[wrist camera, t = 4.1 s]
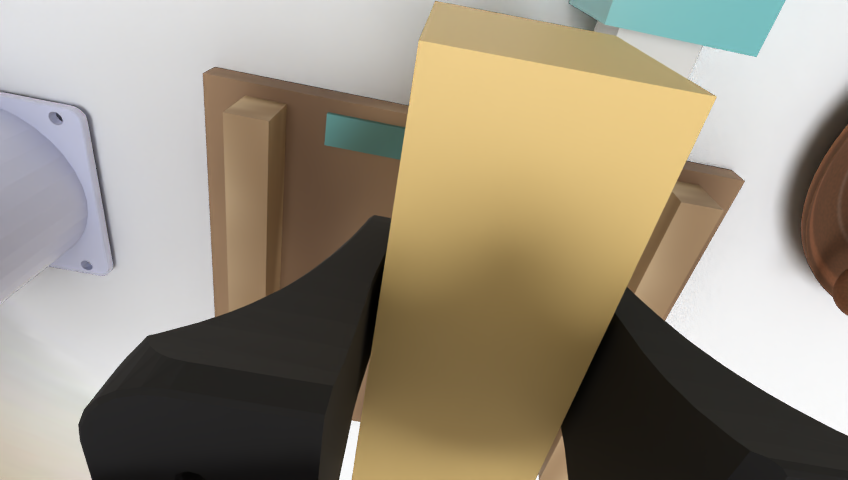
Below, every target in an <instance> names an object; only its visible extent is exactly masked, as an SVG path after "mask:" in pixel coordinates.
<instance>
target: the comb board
mask: <svg viewBox="0 0 848 480" xmlns="http://www.w3.org/2000/svg"><path fill="white" fill-rule="evenodd" d="M203 86H204V106H205V126H206V146H207V166H208V186H209V206H210V226H211V246H212V266H213V286H214V306H215V317H217V316H220V315H223V314H226V313H228V312H231V311H234V310H236V309H239V308H241V307H244V306H246V305H249V304H251V303H253V302H255V301H257V300H259V299H262V298H264V297H266V296H268V295H270V294H272V293H274V292H276V291H278V290H280V289H282V288H284V287H286V286H287V285H289V284H291V283H292V282H294V281H296V280H297V279H299V278H300V277H302V276H303V275H305V274H306V273H308V272H309V271H311V270H312V269H314V268H315V267H316V266H318V265H319V264H320V263H321V262H323V261H324V260H325V259H327V258H328V257H329V256H331V255H332V254H333V253H334V252H335V251H337V250H338V249H339V248H340V247H341V246H342V245H343V244H344V243H345V242H347V241H348V240H349V239H350V238H351V237H352V236H353V235H354V234H355V233H356V232H357V231H358V230H359V229H360V228H361V227H362V226H363V225H364V224H365V222H366V221H367V220H368V219H369V218H370V217H372V216H373V215H377V216H383V217H388V218H392V212H393V206H394V199H395V193H396V186H397V180H398V173H399V167H400V160H401V153H402V147H403V140H404V134H405V127H406V121H407V114H408V108H409V106H407V105H402V104H397V103H392V102H387V101H382V100H377V99H372V98H367V97H362V96H357V95H352V94H347V93H342V92H337V91H332V90H327V89H322V88H317V87H312V86H307V85H302V84H297V83H292V82H287V81H282V80H277V79H272V78H267V77H262V76H257V75H252V74H247V73H242V72H237V71H232V70H227V69H222V68H217V67H214V68H212V69H210V70H208V71H206V72H204V73H203ZM744 182H745V181H744V180H743V179H742V178H741V177H739V176H738V175H737V174H736V173H735V172H733V171H732V170H728V169H723V168H718V167H713V166H708V165H703V164H698V163H693V162H688V161H686V163H685V165H684V167H683V169H682V171H681V173H680V175H679V177H678V180H677V182H676V184H675V186H674V188H673V190H672V192H671V194H670V196H669V199H668V201H667V203H666V205H665V207H664V209H663V211H662V213H661V215H660V218H659V220H658V222H657V224H656V226H655V228H654V230H653V232H652V234H651V237H650V239H649V241H648V243H647V245H646V247H645V249H644V251H643V253H642V256H641V258H640V260H639V262H638V264H637V266H636V268H635V270H634V272H633V275H632V277H631V279H630V281H629V283H628V285H627V287H628V288H629V289H630V290H631V291H632V292H633V293H634V294H635V295H636V296H637V297H638V298H640V299H641V300H642V301H643V302H644V303H645V304H646V305H647V306H648V307H649V308H651V309H652V310H653V311H654V312H655V313H656V314H657V315H658V316H660V317H661V318H662V319H663V320H664V321H665V320H666V318H667V316H668V314H669V313H670V311H671V309H672V307H673V306H674V304H675V302H676V300H677V299H678V297H679V295H680V293H681V292H682V290H683V288H684V286H685V285H686V283H687V281H688V279H689V278H690V276H691V274H692V272H693V271H694V269H695V267H696V265H697V264H698V262H699V260H700V258H701V257H702V255H703V253H704V251H705V250H706V248H707V246H708V244H709V243H710V241H711V239H712V237H713V236H714V234H715V232H716V231H717V229H718V227H719V225H720V224H721V222H722V220H723V218H724V217H725V215H726V213H727V211H728V210H729V208H730V206H731V204H732V203H733V201H734V199H735V197H736V196H737V194H738V192H739V190H740V189H741V187H742V185H743V183H744ZM370 357H371V356H370ZM369 363H370V359H369V362H368V365H367V368H366V371H365V375H364V378H363V381H362V384H361V387H360V390H359V393H358V397H357V400H356V404H355V408H354V411H353V416H352V420H353V421H359V422H361V415H362V409H363V402H364V396H365V389H366V383H367V376H368V370H369ZM538 475H539V480H568V474H567V465H566V457H565V448H564V442H563V436H562V431H561V427H560V429H559V431H558V433H557V435H556V437H555V439H554V441H553V444H552V446H551V448H550V450H549V452H548V454H547V456H546V458H545V460H544V463H543V465H542V467H541V469H540V471H539V473H538Z"/></svg>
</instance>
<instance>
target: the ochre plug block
mask: <svg viewBox="0 0 848 480" xmlns="http://www.w3.org/2000/svg"><path fill="white" fill-rule="evenodd" d="M715 99H716V96H715V95H713V94H711V93H710V92H708V91H706V90H705V89H703V88H701V87H700V86H698V85H696V84H695V83H693V82H692V81H690V80H688V79H687V78H685V77H683V76H682V75H680V74H678V73H677V72H675V71H673V70H672V69H670V68H668V67H667V66H665V65H663V64H662V63H660V62H658V61H657V60H655V59H653V58H652V57H650V56H648V55H647V54H645V53H644V52H642V51H640V50H639V49H637V48H635V47H634V46H632V45H630V44H629V43H627V42H625V41H624V40H622V39H620V38H619V37H617V36H615V35H610V34H604V33H599V32H594V31H589V30H584V29H579V28H573V27H568V26H563V25H558V24H553V23H547V22H542V21H537V20H532V19H527V18H521V17H516V16H511V15H506V14H501V13H495V12H490V11H485V10H480V9H475V8H469V7H464V6H459V5H454V4H449V3H443V2H438V1H435V3H434V5H433V7H432V10H431V12H430V15H429V17H428V19H427V22H426V24H425V27H424V29H423V31H422V34H421V36H420V39H419V42H418V49H417V55H416V62H415V68H414V75H413V81H412V88H411V95H410V101H409V108H408V114H407V121H406V127H405V134H404V140H403V147H402V153H401V160H400V167H399V173H398V180H397V186H396V193H395V199H394V206H393V212H392V219H391V226H390V232H389V239H388V245H387V252H386V258H385V265H384V271H383V278H382V284H381V291H380V298H379V304H378V311H377V317H376V324H375V330H374V337H373V343H372V350H371V357H370V363H369V370H368V376H367V383H366V389H365V396H364V402H363V409H362V415H361V422H360V429H359V435H358V442H357V448H356V455H355V461H354V468H353V474H352V480H535V479H536V477H537V475H538V473H539V471H540V469H541V467H542V465H543V463H544V460H545V458H546V456H547V454H548V452H549V450H550V448H551V446H552V444H553V441H554V439H555V437H556V435H557V433H558V431H559V429H560V427H561V425H562V422H563V420H564V418H565V416H566V414H567V412H568V410H569V408H570V405H571V403H572V401H573V399H574V397H575V395H576V393H577V391H578V389H579V386H580V384H581V382H582V380H583V378H584V376H585V374H586V372H587V370H588V367H589V365H590V363H591V361H592V359H593V357H594V355H595V353H596V351H597V348H598V346H599V344H600V342H601V340H602V338H603V336H604V334H605V332H606V329H607V327H608V325H609V323H610V321H611V319H612V317H613V315H614V313H615V310H616V308H617V306H618V304H619V302H620V300H621V298H622V296H623V294H624V291H625V289H626V287H627V285H628V283H629V281H630V279H631V277H632V275H633V272H634V270H635V268H636V266H637V264H638V262H639V260H640V258H641V256H642V253H643V251H644V249H645V247H646V245H647V243H648V241H649V239H650V237H651V234H652V232H653V230H654V228H655V226H656V224H657V222H658V220H659V218H660V215H661V213H662V211H663V209H664V207H665V205H666V203H667V201H668V199H669V196H670V194H671V192H672V190H673V188H674V186H675V184H676V182H677V180H678V177H679V175H680V173H681V171H682V169H683V167H684V165H685V163H686V161H687V158H688V156H689V154H690V152H691V150H692V148H693V146H694V144H695V142H696V139H697V137H698V135H699V133H700V131H701V129H702V127H703V125H704V123H705V120H706V118H707V116H708V114H709V112H710V110H711V108H712V106H713V104H714V101H715Z"/></svg>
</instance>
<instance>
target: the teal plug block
mask: <svg viewBox="0 0 848 480" xmlns="http://www.w3.org/2000/svg"><path fill="white" fill-rule="evenodd" d="M784 2H785V0H570V1H569V4H571V5H572V6H574V7H576V8H577V9H579V10H581V11H583V12H584V13H586V14H588V15H589V16H591V17H593V18H594V19H596V20H597V23H596V26H595V29H594V32H599V33H604V34H610V35H615V36H617V37H619V38H620V39H622V40H624V41H625V42H627V43H629V44H630V45H632V46H634V47H635V48H637V49H639V50H640V51H642V52H644V53H645V54H647V55H648V56H650V57H652V58H653V59H655V60H657V61H658V62H660V63H662V64H663V65H665V66H667V67H668V68H670V69H672V70H673V71H675V72H677V73H678V74H680V75H682V76H683V77H685V78H687V79H688V78H689V75H690V73H691V71H692V69H693V67H694V64H695V62H696V60H697V58H698V56H699V53H700V51H701V49H702V47H703V46H708V47H712V48H717V49H722V50H726V51H731V52H736V53H740V54H745V55H750V56H754V57H757V55H758V53H759V51H760V49H761V47H762V45H763V43H764V41H765V39H766V37H767V35H768V33H769V32H770V30H771V28H772V26H773V24H774V22H775V20H776V18H777V16H778V14H779V12H780V10H781V8H782V6H783V4H784Z"/></svg>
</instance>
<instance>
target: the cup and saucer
mask: <svg viewBox="0 0 848 480" xmlns="http://www.w3.org/2000/svg"><path fill="white" fill-rule="evenodd" d="M801 238H802V245H803V250H804V254H805V257H806V259H807V262H808V265H809V266H810V268H811V270H812V272H813V274H814V275H815V277H816V279H817V280H818V282H819V283H820V284H821V285H822V287H823V288H824V289H825V290H826V291H827V292H828V293H829V294H830V295H831V296H832V297H833V299H834V302H835V304H836V305H837V307H838V308H839V309H840V310H841V311H842V312H843V313H845V314H846V315H848V125H847V126H846V127H845V128H844V130H843V131H842V132H841V134H840V135H839V136H838V137H837V139H836V140H835V141H834V143H833V144H832V146H831V147H830V149H829V150H828V152H827V153H826V155H825V156H824V158H823V160H822V162H821V163H820V165H819V167H818V169H817V171H816V173H815V175H814V177H813V180H812V182H811V184H810V187H809V189H808V193H807V196H806V199H805V202H804V207H803V212H802V220H801Z"/></svg>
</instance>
